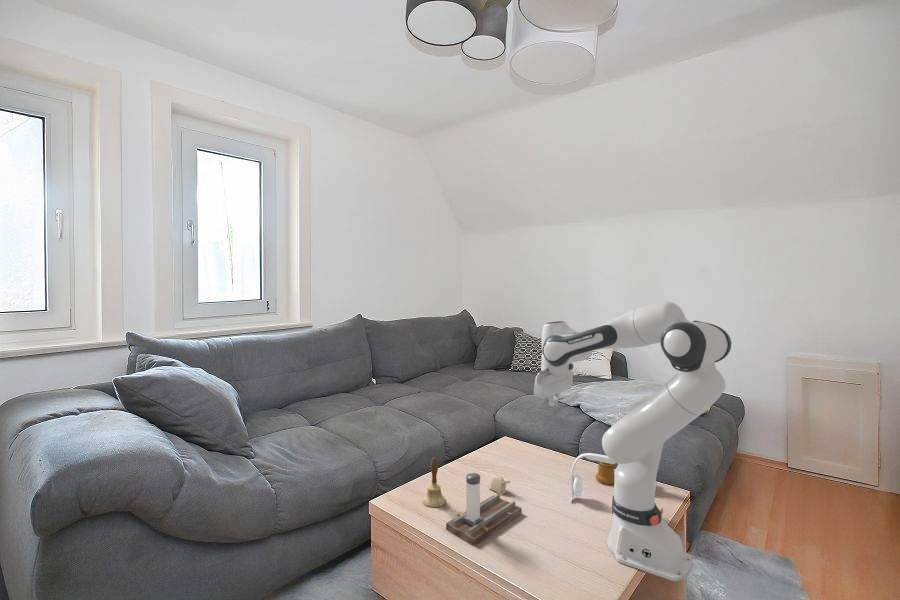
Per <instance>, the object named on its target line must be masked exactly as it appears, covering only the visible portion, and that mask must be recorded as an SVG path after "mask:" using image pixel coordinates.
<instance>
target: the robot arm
mask: <svg viewBox="0 0 900 600" xmlns="http://www.w3.org/2000/svg"><path fill="white" fill-rule="evenodd" d="M659 343H660V347H661V351H662V352H663V353H664V356H665V357H666V358H667V359H668V361H669V362H670V365H671V366H672V368H673V369H675V370H676V371H677V373H676V374H675V375H673V377H671V378H670V379H669V380H668V381H666V382H665V383H664V384H663V385H661V387H659V389H657V390H656V391H655V392H654V393H653V394H651V396H649V397H648V398H647V399H645V400H644V401H643V402H641V403H640V404H638V405H637V406H636V407H634V408H633V409H632V410H630V411H629V412H627V413H626V414H625V415H624V416H622V417H621V418H620V419H618V421H616V422H615V423H614V424H612V425H611V427H609V428H608V429H607V430H606V431H605V432H604V433H603V436H602V439H601V446H602V450H603V452H604V454H605V456H608V457H609V458H610V459H611V460H612V461H614V462H616V463H615V464H617V465H616V468H615V469H614V475H615V477H614V484H613V485H614V486H613V488H614V489H613V490H614V491H613V496H612V501H611V514H612V518H611V519H612V520H611V526H610V530H609V533H608V534H609V535H608V537H607V540H606V544H607V546H608V549H610V551H611V552H612V553H613V554H614V558H615V560H616V561H617V562H618V563H620V564H623V565H626V566H629V567H631V568H634V569H638V570H640V571H643V572H646V573H647V574H648V573H649V574H652V575H655V576H658V577H660V578H663V579H666V580H669V581H672V582H677V581H678V582H679V581H682V580H684V579H685V578H687V576H689V574H691V572H692V569H693V566H694V565H693V564H694V563H693V559H692V558H693V557H692V556H691V554H690V553H687V551H684V546H683V541H682V539H681V537H680V535H679V534H677V532H675V531H674V529H672V528H671V527H670V526H669V525H668V524H667V523H666V522H665V520H663V519H662V518H663V516H662V515H663V513H664V508H663V507H662V508H661V509H659V507H658V506H657V504H656V490H655V485H656V482H657V481H656V480H657V475H658V470H659V465H660V462H661V457H662V452H663V448H664V445H665V442H666V441H668V439H670V438H671V437H673V436H674V435H676V434H678V432H681V430H683V429H684V428H685V427H687V426H688V425H689V424H690V423H691V422H693V421H694V420H696V419H697V418H699V417H700V416H701V415H702V414H703V413H705V412H706V411H707V410H708V409H710V408H711V406H712V405H714V403H716V402H717V400H718V399H719V398H720V397H722V396H721V395H723V393H724V392H725V390H726V385H727V383H726V380H725V377H724V376H723V374H722V373H721V372H720V371H719V370H718V369H717V367H716V363H718V362H720V361H722V360H723V359H725V358H726V357H727V356H728V355H729V354H730V352H731V349H732V340H731V337H730V335H729V334H728V332H727V331H726V330H725V329H723V328H721V327H720V326H718V325H716V324H712V323H710V322H705V321H699V320H693V321H689V320H688V319H687V317H686V315H685V312H684V311H683V309H682V308H681V307H680V306H679V305H678V304H676V303H674V302H672V301H671V302H670V301H664V302H657V303H652V304H649V305H647V304H646V305H644V306H641V307H637V308H635V309H632V310H629V311H627V312H625V313H623V314H621V315H619V316H617V317H615V318H613V319H611V320H609V321H606V322H605V323H602V324H600V325H598V326H596V327H594V328H591V329H588V330H585V331H581V332H580V331H578V330H575V329H573V328H572V327H570V326H569V325H568V323H566V322H565V321H562V320H559V321H551V322H550V321H549V322H545V324H544V325H543V327H542V331H541V345H540V346H541V349H542V354H541V355H540V356H541V357H540V358H541V360H540V361H541V362H540V369H541V370H539V371H538V373H537V375H536V376H535V379H534V386H533V395H534V397H535V398H538V399H539V398H540V399H545V398H547V399H548V406H550V407H555V406H558V404H559V398H560V395H561V393H562V392H564V391H566V390H569V389H571V388H572V386H573V383H574V380H573V379H574V371H573V370H574V367H575V366H574V363H578V362H582V361H585V360H588V359H589V358H590V357H591V356H592V353H593V351H597V350H606V349H632V348H634V349H635V348H641V347H642V348H643V347H646V346H647V347H648V346H651V345H654V344H659ZM618 463H619V464H618Z"/></svg>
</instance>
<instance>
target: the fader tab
mask: <svg viewBox="0 0 900 600" xmlns="http://www.w3.org/2000/svg"><path fill="white" fill-rule="evenodd" d="M465 483H466V484H465V485H466V503H465V504H466V511H465V512H466V516H465V517H463V521H464V522H466V523H468V524H469V525H471V526H475V525H476V524H478V523H479V522H481V521H482V520H483V518H481V517H480V503H481V475H480V474H478V473H475V472H471V473H468V474H466V475H465Z"/></svg>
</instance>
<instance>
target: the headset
mask: <svg viewBox="0 0 900 600" xmlns="http://www.w3.org/2000/svg"><path fill="white" fill-rule="evenodd" d="M582 458H586V459H587V460H590V461H595V462H599V463H600V462H605V463H609V464H613V465H614V464H615V465H616V464H617V465H618V464H619V463H616V462H614V461H612V460H611V459H610V458H609V457H608V456H607V455H606V454H599V453H591V452H588V453H585V452H584V453H582V454H580V455H578V456H577V457H576V459H575V460H574V461H573V464H572V467H571V470H570V487H571V489H570V490H571V498H570V504H572V502H573V499H574V496H575V497H581V495H582V490H583V479H582V476H581V475H580V474H578V473H577V474H575V472H574V471H575V469H576V466H577V463H578V461H580V460H581V459H582Z"/></svg>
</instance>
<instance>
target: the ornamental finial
mask: <svg viewBox="0 0 900 600" xmlns="http://www.w3.org/2000/svg"><path fill="white" fill-rule="evenodd" d="M597 467H598V469H597V473H596V475H595V478H596V481H597V482H598V483H600V484H602V485H605V486H606V485H607V486H611V485H614V477H615V465H614V464H609V463H605V462H600V461H599V462H598V466H597Z"/></svg>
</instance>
